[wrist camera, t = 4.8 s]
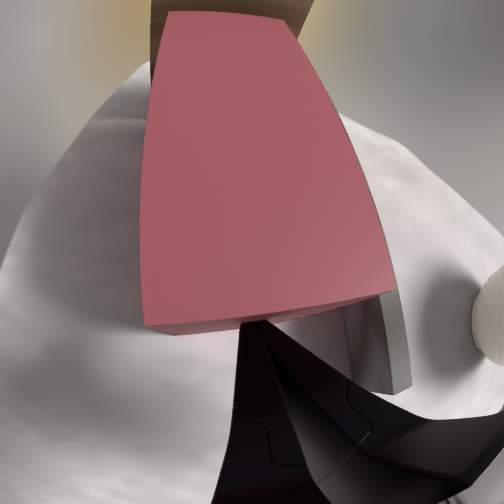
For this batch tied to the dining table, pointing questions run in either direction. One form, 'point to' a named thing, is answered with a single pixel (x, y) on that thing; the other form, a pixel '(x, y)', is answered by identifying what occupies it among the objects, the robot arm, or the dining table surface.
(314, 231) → the pink rectangular block
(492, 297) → the lidded jar
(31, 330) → the dining table surface
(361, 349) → the bookend
